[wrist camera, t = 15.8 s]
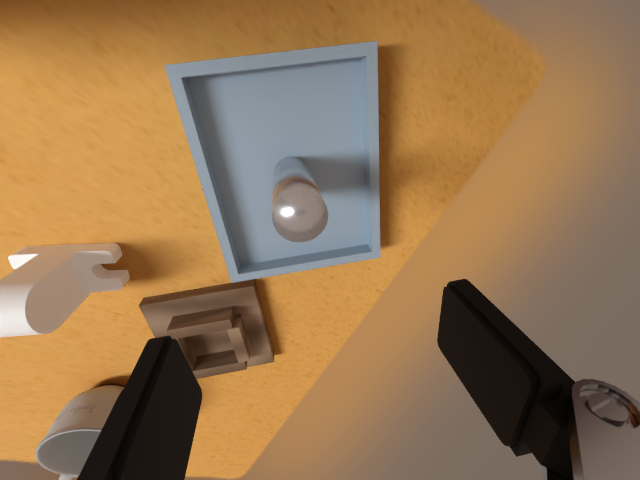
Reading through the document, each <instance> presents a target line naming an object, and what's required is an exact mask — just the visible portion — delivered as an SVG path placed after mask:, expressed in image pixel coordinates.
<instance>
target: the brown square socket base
mask: <svg viewBox="0 0 640 480" xmlns="http://www.w3.org/2000/svg"><path fill="white" fill-rule="evenodd" d="M139 307H140V309H141V311H142V313H143V315H144V317H145V319H146V321H147V323H148V325H149V327H150V328H151V330H152V332H153V334H154V336H155V338H158V337H163V336H171V338H172V339H177V341H178V342H179V344H180V346H181V349H182V351H183V353H184V355H185V357H186V359H187V361H188V363H189V365H190V367H191V369H192V371H193V373H194V376H195V378H196V379H198V378H204V377H209V376H214V375H219V374H224V373H229V372H235V371H240V370H245V369H247V367H251V366H256V365H261V364H266V363H271V362H274V352H273V349H272V345H271V341H270V337H269V333H268V330H267V326H266V322H265V318H264V314H263V311H262V307H261V303H260V299H259V295H258V292H257V288H256V284H255V280H254V279H253V280H247V281H241V282H235V283H229V284H223V285H218V286H212V287H206V288H200V289H194V290H188V291H182V292H176V293H171V294H165V295H159V296H153V297H147V298H143V300H142V301H141V303H140V305H139Z"/></svg>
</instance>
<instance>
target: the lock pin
mask: <svg viewBox="0 0 640 480" xmlns="http://www.w3.org/2000/svg"><path fill="white" fill-rule="evenodd" d="M327 221H328V209H327V206H326V204H325V202H324V200H323V198H322V196H321V193H320V191H319V189H318V187H317V185H316V183H315V181H314V178H313V176H312V174H311V172H310V170H309V168H308V166H307V164H306V163H305V162H304V161H303V160H301V159H300V158H297V157H286V158H283V159H281V160H280V161H279V162H278V163H277V164H276V166H275V167H274V170H273V195H272V222H273V225H274V227H275V229H276V231H277V232H278V233H279V234H280V235H281V236H282V237H283V238H285V239H287V240H289V241H292V242H306V241H310V240H312V239H314V238H316V237H317V236H319V235H320V234H321V233H322V231H323V230H324V229H325V227H326V225H327Z"/></svg>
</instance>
